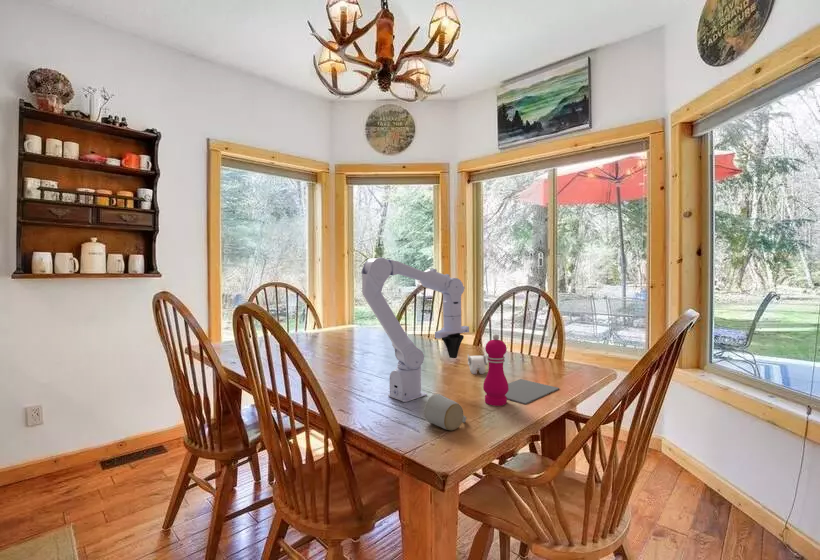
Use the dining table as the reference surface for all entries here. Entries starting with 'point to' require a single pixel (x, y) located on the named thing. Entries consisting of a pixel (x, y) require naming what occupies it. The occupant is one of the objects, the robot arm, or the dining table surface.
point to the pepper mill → (495, 373)
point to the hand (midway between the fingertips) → (453, 357)
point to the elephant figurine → (477, 363)
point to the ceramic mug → (444, 412)
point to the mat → (527, 391)
